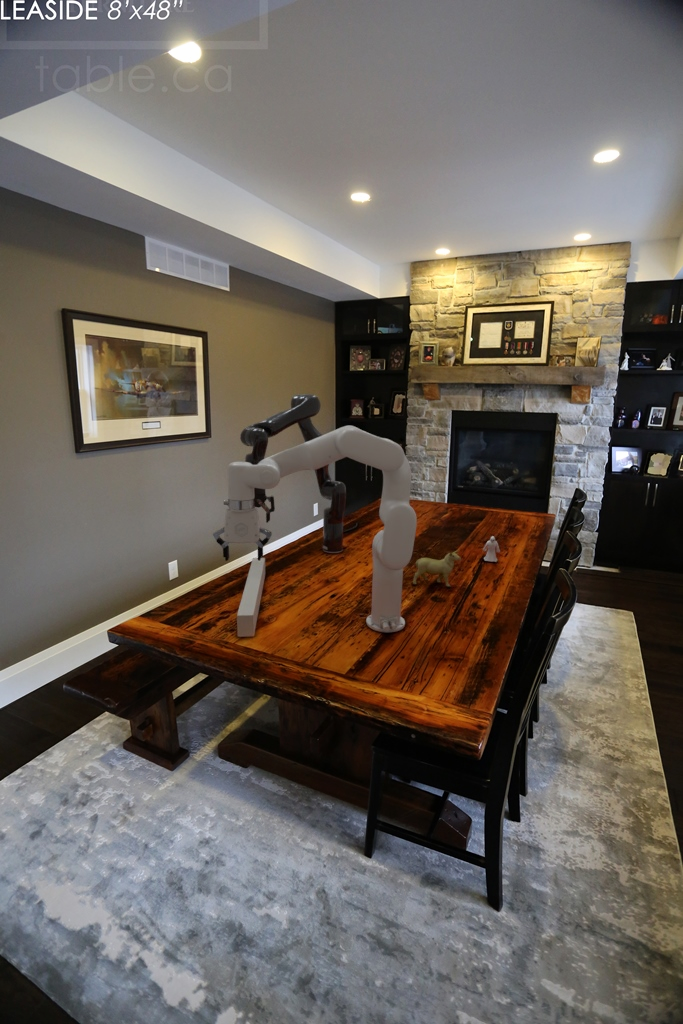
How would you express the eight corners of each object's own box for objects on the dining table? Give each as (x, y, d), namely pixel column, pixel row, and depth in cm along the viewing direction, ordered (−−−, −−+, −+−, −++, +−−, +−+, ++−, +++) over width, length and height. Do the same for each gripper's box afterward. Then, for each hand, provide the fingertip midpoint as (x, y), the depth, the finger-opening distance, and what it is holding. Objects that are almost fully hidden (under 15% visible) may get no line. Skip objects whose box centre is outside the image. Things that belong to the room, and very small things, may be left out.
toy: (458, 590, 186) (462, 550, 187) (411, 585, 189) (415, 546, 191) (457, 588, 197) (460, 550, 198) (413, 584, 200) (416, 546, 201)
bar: (253, 636, 153) (253, 615, 151) (237, 636, 153) (236, 615, 151) (265, 574, 204) (265, 557, 202) (253, 574, 203) (252, 557, 202)
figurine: (481, 562, 222) (483, 536, 219) (482, 556, 230) (484, 531, 227) (499, 564, 220) (501, 538, 217) (499, 558, 228) (501, 533, 225)
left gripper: (274, 479, 193) (275, 519, 197) (237, 479, 192) (238, 519, 196) (273, 482, 186) (274, 524, 190) (234, 482, 185) (236, 524, 189)
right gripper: (209, 507, 143) (212, 563, 147) (270, 507, 144) (271, 563, 148) (214, 501, 150) (216, 555, 154) (272, 501, 151) (272, 555, 156)
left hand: (256, 522), depth 193 cm, fingers open, 8 cm apart
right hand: (243, 559), depth 151 cm, fingers open, 9 cm apart
